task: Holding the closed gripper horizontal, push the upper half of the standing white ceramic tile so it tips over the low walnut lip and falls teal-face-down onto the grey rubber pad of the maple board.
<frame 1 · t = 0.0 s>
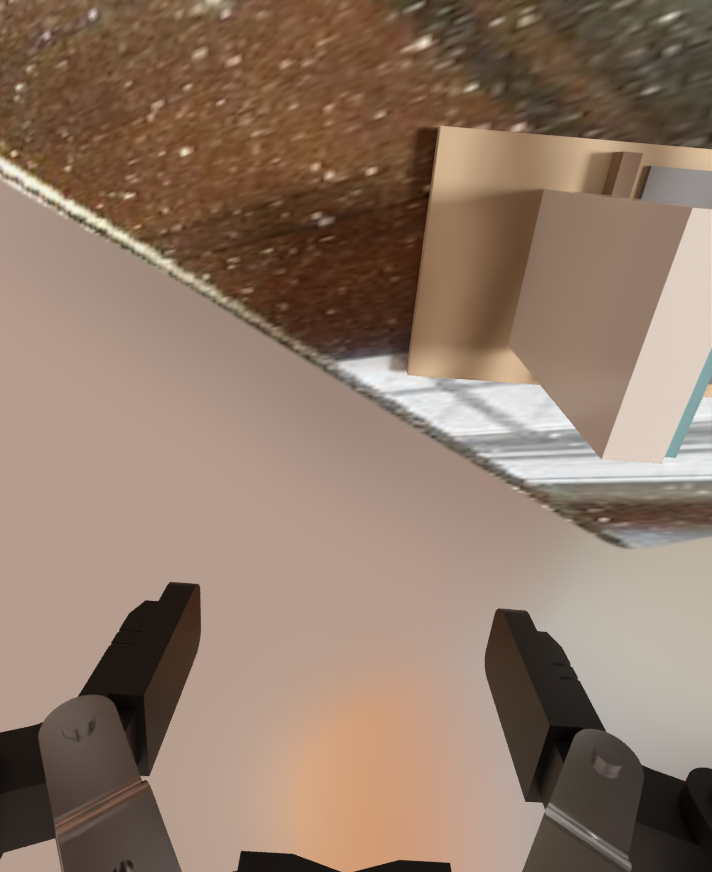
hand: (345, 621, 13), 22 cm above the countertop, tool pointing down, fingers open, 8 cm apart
tile: (549, 275, 30), point 1 cm above the countertop, touching board
board: (598, 275, 31), on the countertop
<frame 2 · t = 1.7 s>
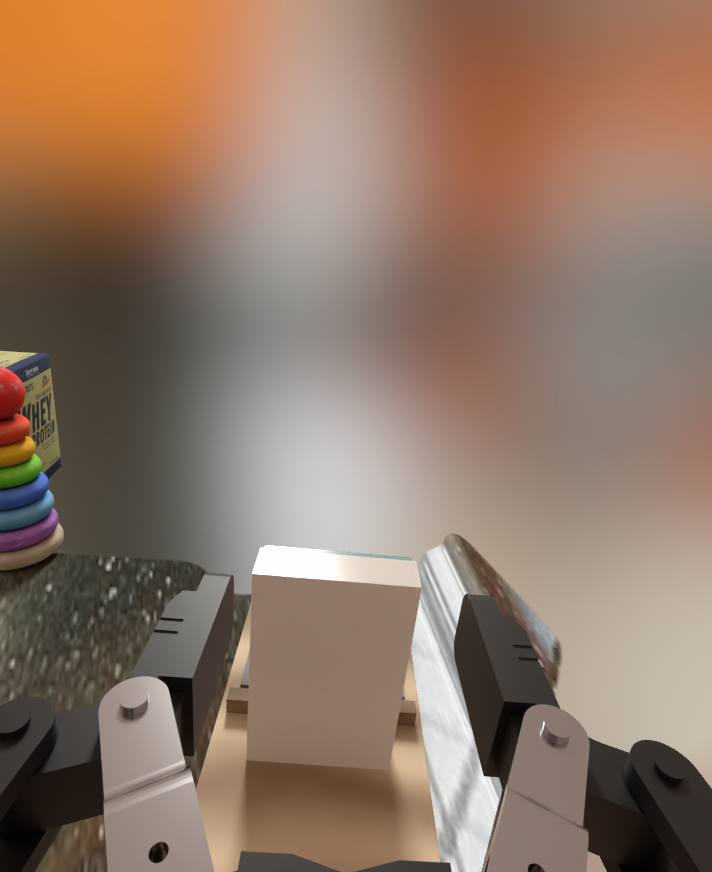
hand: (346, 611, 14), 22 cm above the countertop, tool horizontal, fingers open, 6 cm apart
tile: (319, 743, 33), point 1 cm above the countertop, touching board
board: (321, 709, 36), on the countertop
stacking toy: (19, 552, 50), on the countertop
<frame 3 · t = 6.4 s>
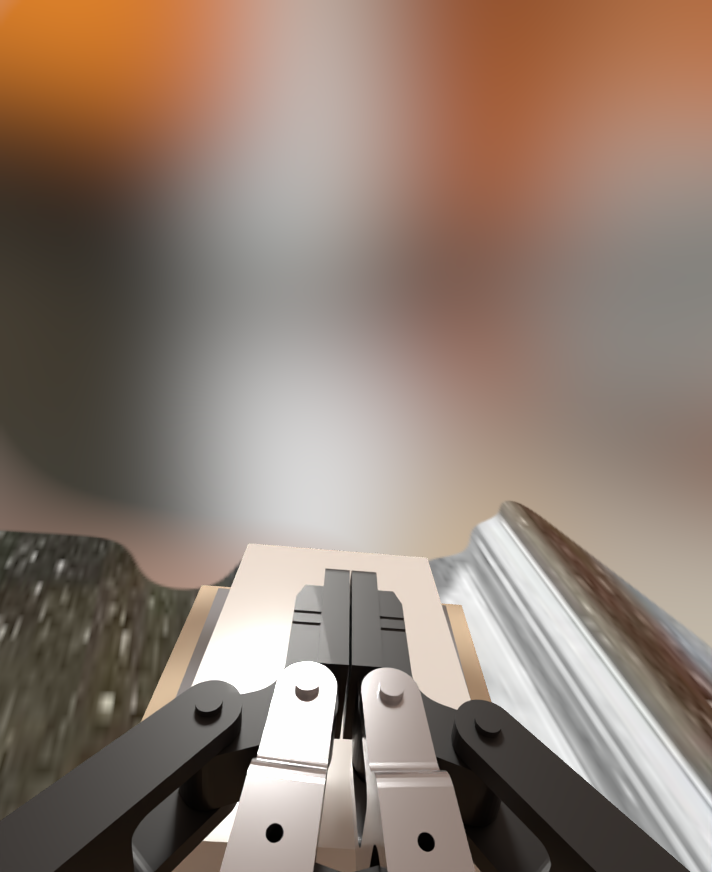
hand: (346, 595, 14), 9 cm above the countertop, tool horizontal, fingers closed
board: (319, 831, 17), on the countertop
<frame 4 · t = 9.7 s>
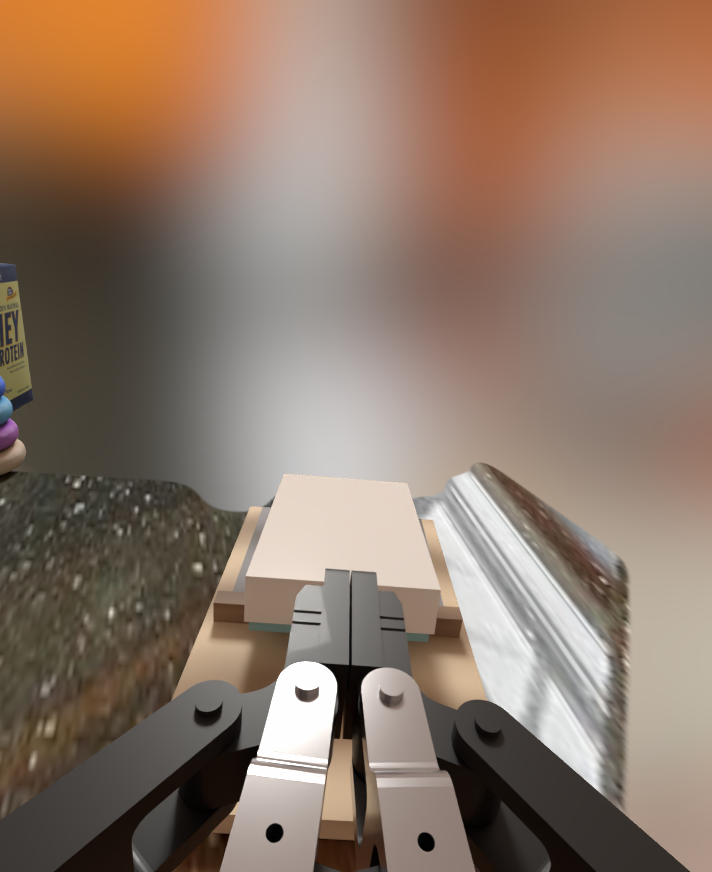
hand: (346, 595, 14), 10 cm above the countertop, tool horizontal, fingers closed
tile: (341, 611, 23), point 4 cm above the countertop, tilted 95°, touching board
board: (336, 624, 28), on the countertop
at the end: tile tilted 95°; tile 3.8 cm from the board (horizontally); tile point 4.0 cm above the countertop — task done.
